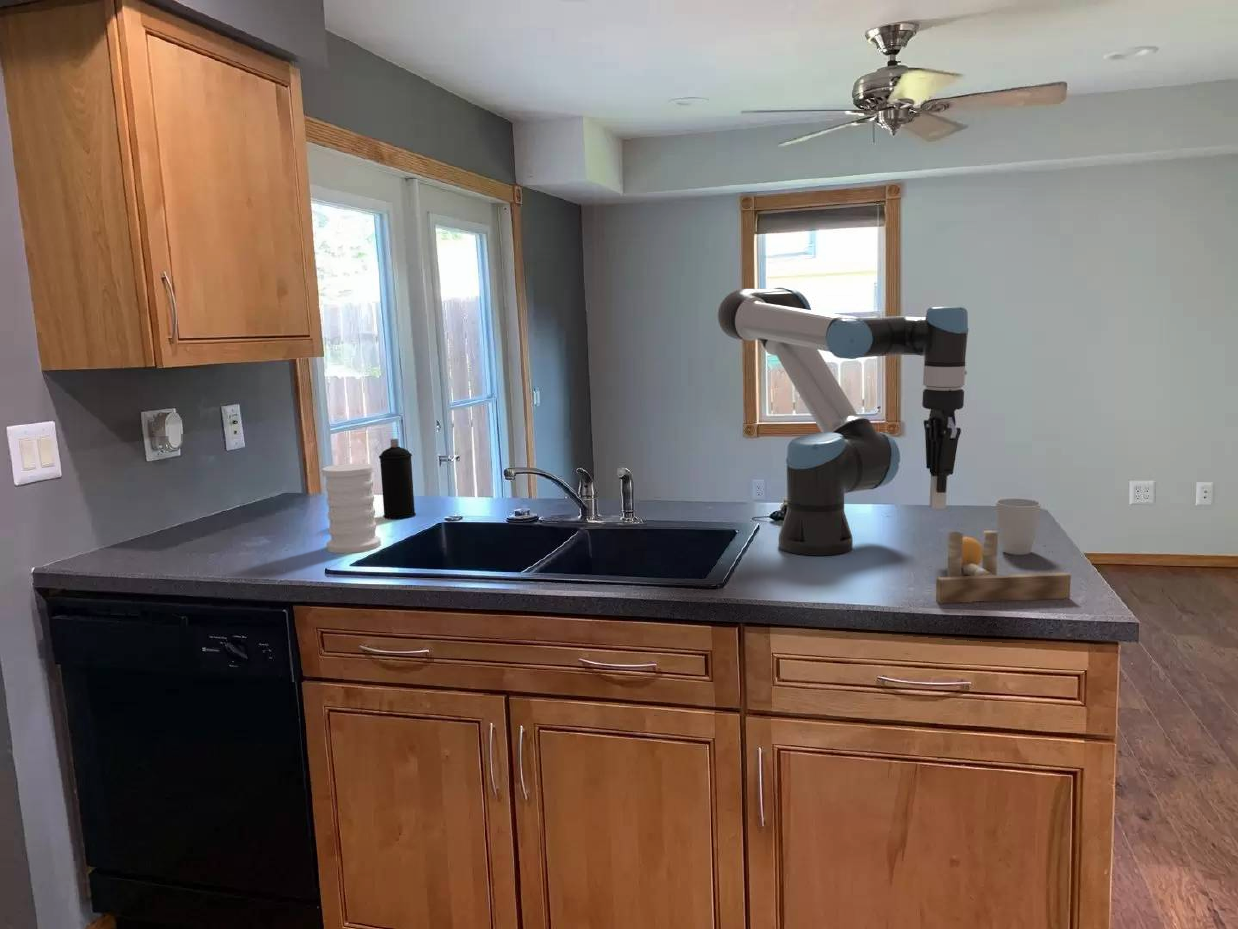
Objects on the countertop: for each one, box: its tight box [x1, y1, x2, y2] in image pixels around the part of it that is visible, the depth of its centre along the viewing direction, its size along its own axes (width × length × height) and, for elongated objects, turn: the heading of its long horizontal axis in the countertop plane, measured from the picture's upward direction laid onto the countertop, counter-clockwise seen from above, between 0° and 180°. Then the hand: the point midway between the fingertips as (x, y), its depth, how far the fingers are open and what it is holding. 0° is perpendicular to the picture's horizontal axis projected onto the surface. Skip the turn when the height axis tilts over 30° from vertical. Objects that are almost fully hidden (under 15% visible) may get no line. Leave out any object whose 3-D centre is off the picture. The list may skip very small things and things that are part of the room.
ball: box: [962, 536, 983, 569], centre depth 172 cm, size 6×6×6 cm
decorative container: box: [321, 462, 382, 554], centre depth 202 cm, size 12×12×18 cm
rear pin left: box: [982, 530, 999, 575], centre depth 165 cm, size 2×2×8 cm
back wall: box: [935, 572, 1072, 604], centre depth 153 cm, size 22×2×4 cm, turn 92°
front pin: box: [962, 562, 994, 576], centre depth 164 cm, size 2×2×8 cm
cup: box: [995, 498, 1041, 556], centre depth 182 cm, size 8×8×10 cm
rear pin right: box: [946, 531, 964, 577], centre depth 165 cm, size 2×2×8 cm
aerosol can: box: [378, 438, 417, 520], centre depth 233 cm, size 8×8×20 cm
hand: (937, 507), depth 180 cm, fingers closed
